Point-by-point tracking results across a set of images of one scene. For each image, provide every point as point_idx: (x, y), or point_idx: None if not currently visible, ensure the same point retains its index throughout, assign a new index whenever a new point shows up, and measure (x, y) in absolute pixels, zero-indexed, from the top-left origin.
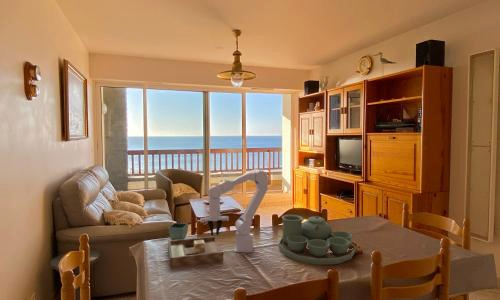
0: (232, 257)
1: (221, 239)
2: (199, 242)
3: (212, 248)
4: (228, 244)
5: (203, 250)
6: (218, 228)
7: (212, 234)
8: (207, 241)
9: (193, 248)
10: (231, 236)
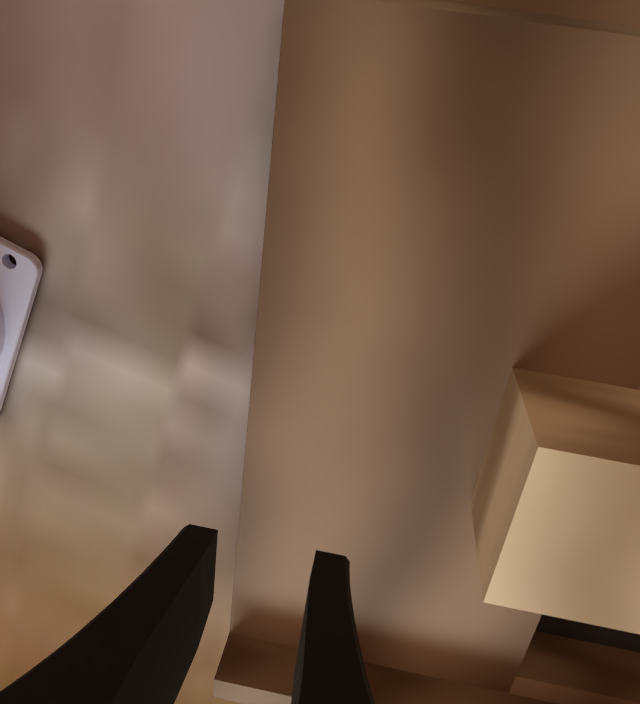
0: (112, 73)
1: None
2: (626, 523)
3: (354, 401)
4: (80, 523)
5: (539, 375)
6: (93, 671)
7: (330, 575)
8: None
9: None
10: (9, 684)
